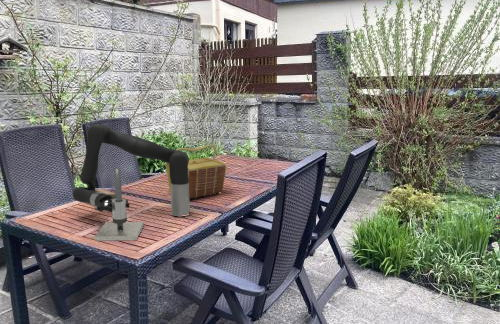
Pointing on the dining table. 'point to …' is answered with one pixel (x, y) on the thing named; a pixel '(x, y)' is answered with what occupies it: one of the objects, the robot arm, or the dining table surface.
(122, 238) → the pipe stand
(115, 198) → the packaged product
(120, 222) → the black hex nut
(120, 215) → the metal sleeve
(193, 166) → the picnic basket
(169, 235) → the dining table surface
